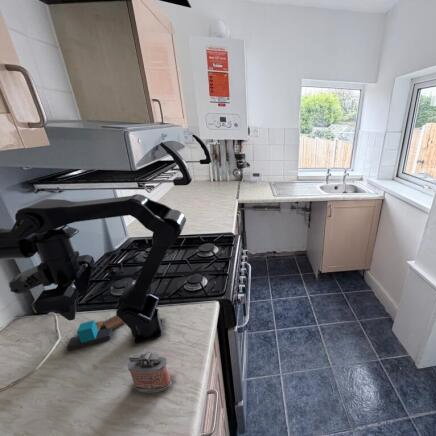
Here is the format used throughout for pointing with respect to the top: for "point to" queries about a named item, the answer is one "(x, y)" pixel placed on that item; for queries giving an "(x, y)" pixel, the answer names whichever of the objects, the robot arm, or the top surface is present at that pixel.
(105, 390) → the top surface
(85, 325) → the wiper
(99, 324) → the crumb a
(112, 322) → the brown flat square block
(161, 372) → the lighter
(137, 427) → the top surface
